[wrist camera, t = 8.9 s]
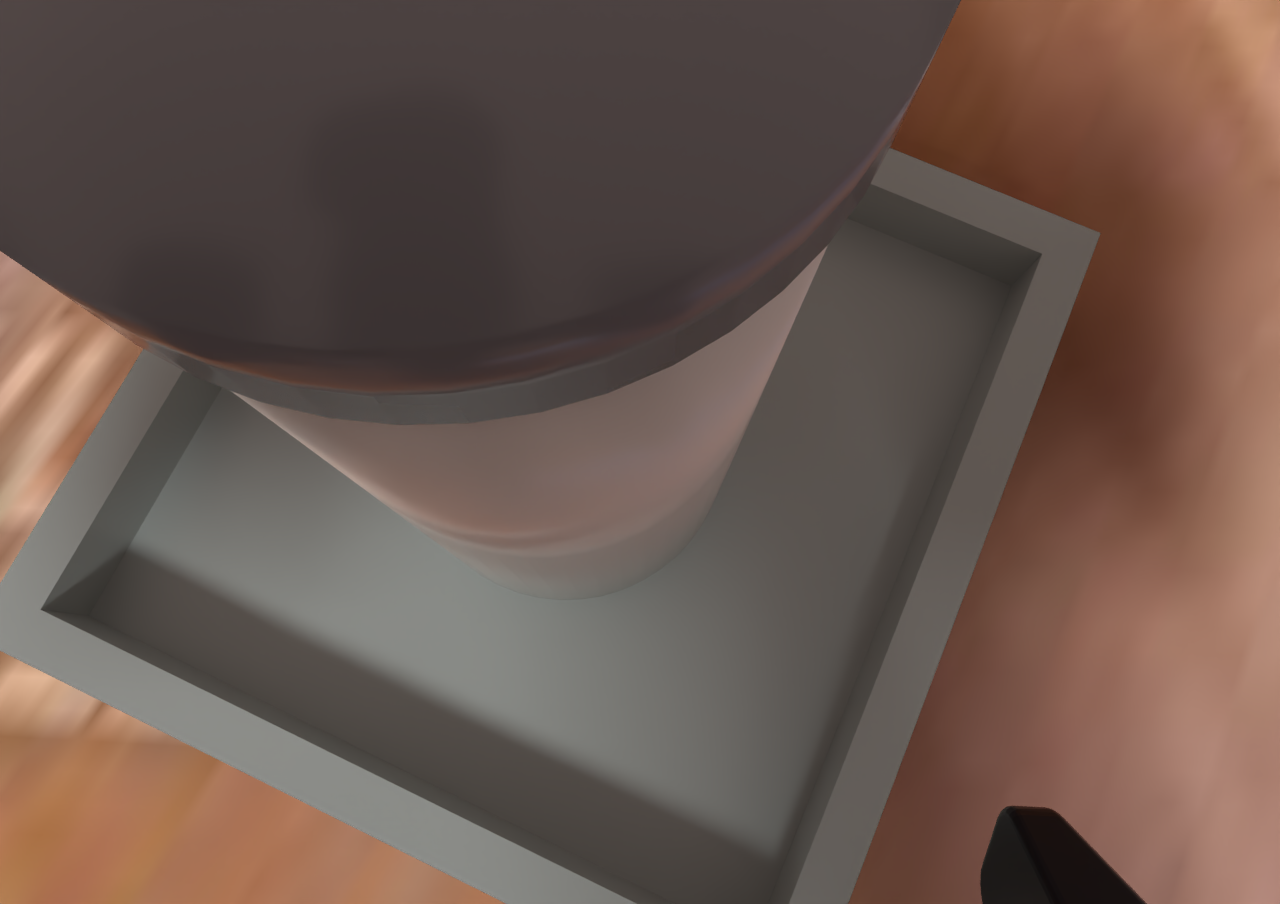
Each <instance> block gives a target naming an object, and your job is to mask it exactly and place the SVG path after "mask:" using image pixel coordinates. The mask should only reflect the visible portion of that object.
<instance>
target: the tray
mask: <svg viewBox="0 0 1280 904" xmlns="http://www.w3.org/2000/svg"><path fill="white" fill-rule="evenodd" d="M1100 234H1101V233H1099V232H1097V231H1094V230H1092V229H1089V228H1087V227H1084V226H1082V225H1080V224H1077V223H1075V222H1072V221H1070V220H1067V219H1065V218H1062V217H1060V216H1057V215H1055V214H1052V213H1050V212H1047V211H1045V210H1042V209H1040V208H1038V207H1035V206H1033V205H1030V204H1028V203H1025V202H1023V201H1020V200H1018V199H1015V198H1013V197H1010V196H1008V195H1005V194H1003V193H1000V192H998V191H995V190H993V189H991V188H988V187H986V186H983V185H981V184H978V183H976V182H973V181H971V180H968V179H966V178H963V177H961V176H958V175H956V174H953V173H951V172H948V171H946V170H944V169H941V168H939V167H936V166H934V165H931V164H929V163H926V162H924V161H921V160H919V159H916V158H914V157H911V156H909V155H906V154H904V153H902V152H899V151H897V150H894V149H892V148H889V150H888V152H887V154H886V156H885V158H884V160H883V162H882V163H881V165H880V167H879V169H878V171H877V173H876V175H875V177H874V178H873V180H872V182H871V184H870V186H869V188H868V190H867V192H866V193H865V195H864V197H863V198H862V199H861V201H860V202H859V203H858V205H857V206H856V207H855V209H854V210H853V212H852V213H851V214H850V216H849V217H848V218H847V220H846V221H845V222H844V224H843V225H842V227H841V228H840V229H839V231H838V232H837V233H836V235H835V236H834V237H833V239H832V240H831V241H830V243H829V244H828V246H827V248H826V251H825V253H824V255H823V257H822V260H821V262H820V264H819V266H818V269H817V271H816V273H815V275H814V278H813V280H812V282H811V284H810V287H809V289H808V291H807V293H806V296H805V298H804V300H803V302H802V305H801V307H800V309H799V311H798V314H797V316H796V318H795V320H794V323H793V325H792V327H791V329H790V332H789V334H788V336H787V338H786V341H785V343H784V345H783V347H782V350H781V352H780V354H779V356H778V359H777V361H776V363H775V365H774V368H773V370H772V372H771V374H770V377H769V379H768V381H767V383H766V386H765V388H764V390H763V392H762V395H761V397H760V399H759V401H758V404H757V406H756V408H755V410H754V413H753V415H752V417H751V419H750V422H749V424H748V426H747V428H746V431H745V433H744V435H743V437H742V440H741V442H740V444H739V446H738V449H737V451H736V453H735V455H734V458H733V460H732V462H731V464H730V467H729V469H728V471H727V473H726V476H725V478H724V480H723V482H722V485H721V487H720V489H719V491H718V494H717V496H716V498H715V500H714V503H713V505H712V507H711V509H710V511H709V513H708V515H707V517H706V518H705V520H704V522H703V524H702V526H701V527H700V529H699V530H698V531H697V533H696V534H695V536H694V537H693V538H692V540H691V541H690V542H689V543H688V545H687V546H686V547H685V548H684V549H683V550H682V551H681V552H680V553H679V554H678V555H677V556H676V557H675V558H674V559H673V560H671V561H670V562H669V563H668V564H667V565H665V566H664V567H663V568H662V569H660V570H659V571H658V572H656V573H654V574H653V575H651V576H649V577H648V578H646V579H645V580H643V581H641V582H639V583H637V584H634V585H632V586H630V587H628V588H626V589H623V590H620V591H617V592H614V593H610V594H607V595H604V596H599V597H593V598H587V599H577V600H555V599H546V598H538V597H534V596H529V595H525V594H521V593H518V592H515V591H512V590H510V589H507V588H505V587H502V586H499V585H498V584H496V583H494V582H492V581H490V580H488V579H487V578H485V577H483V576H481V575H480V574H478V573H477V572H476V571H474V570H473V569H472V568H470V567H469V566H468V565H466V564H465V563H463V562H462V561H461V560H459V559H458V558H457V557H455V556H454V555H453V554H451V553H450V552H449V551H447V550H446V549H444V548H443V547H442V546H440V545H439V544H438V543H436V542H435V541H434V540H432V539H431V538H430V537H428V536H427V535H425V534H424V533H423V532H421V531H420V530H419V529H417V528H416V527H415V526H413V525H412V524H411V523H409V522H408V521H406V520H405V519H404V518H402V517H401V516H400V515H398V514H397V513H396V512H394V511H393V510H392V509H390V508H389V507H388V506H386V505H385V504H383V503H382V502H381V501H379V500H378V499H377V498H375V497H374V496H373V495H371V494H370V493H369V492H367V491H366V490H364V489H363V488H362V487H360V486H359V485H358V484H356V483H355V482H354V481H352V480H351V479H350V478H348V477H347V476H345V475H344V474H343V473H341V472H340V471H339V470H337V469H336V468H335V467H333V466H332V465H331V464H329V463H328V462H327V461H325V460H324V459H322V458H321V457H320V456H318V455H317V454H316V453H314V452H313V451H312V450H310V449H309V448H308V447H306V446H305V445H303V444H302V443H301V442H299V441H298V440H297V439H295V438H294V437H293V436H291V435H290V434H289V433H287V432H286V431H284V430H283V429H282V428H280V427H279V426H278V425H276V424H275V423H274V422H272V421H271V420H270V419H268V418H267V417H266V416H264V415H263V414H261V413H260V412H259V411H257V410H256V409H255V408H253V407H252V406H251V405H249V404H248V403H247V402H245V401H244V400H242V399H241V398H240V397H238V396H237V395H236V394H234V393H233V392H232V391H230V390H227V389H225V388H222V387H220V386H217V385H214V384H212V383H209V382H206V381H204V380H201V379H198V378H196V377H194V376H192V375H191V374H189V373H187V372H185V371H183V370H181V369H180V368H178V367H176V366H174V365H172V364H170V363H169V362H167V361H165V360H163V359H161V358H159V357H158V356H156V355H154V354H152V353H150V352H148V351H147V350H145V349H143V351H142V352H141V354H140V355H139V357H138V359H137V360H136V362H135V364H134V365H133V367H132V369H131V370H130V372H129V373H128V375H127V377H126V378H125V380H124V382H123V383H122V385H121V387H120V388H119V390H118V392H117V393H116V395H115V396H114V398H113V400H112V401H111V403H110V405H109V406H108V408H107V410H106V411H105V413H104V414H103V416H102V418H101V419H100V421H99V423H98V424H97V426H96V428H95V429H94V431H93V432H92V434H91V436H90V437H89V439H88V441H87V442H86V444H85V446H84V447H83V449H82V450H81V452H80V454H79V455H78V457H77V459H76V460H75V462H74V464H73V465H72V467H71V469H70V470H69V472H68V473H67V475H66V477H65V478H64V480H63V482H62V483H61V485H60V487H59V488H58V490H57V491H56V493H55V495H54V496H53V498H52V500H51V501H50V503H49V505H48V506H47V508H46V509H45V511H44V513H43V514H42V516H41V518H40V519H39V521H38V523H37V524H36V526H35V527H34V529H33V531H32V532H31V534H30V536H29V537H28V539H27V541H26V542H25V544H24V546H23V547H22V549H21V550H20V552H19V554H18V555H17V557H16V559H15V560H14V562H13V564H12V565H11V567H10V568H9V570H8V572H7V573H6V575H5V577H4V578H3V580H2V582H1V583H0V651H2V652H4V653H6V654H8V655H10V656H12V657H14V658H16V659H18V660H20V661H22V662H24V663H26V664H28V665H30V666H32V667H34V668H36V669H38V670H40V671H42V672H44V673H46V674H48V675H50V676H52V677H54V678H56V679H58V680H60V681H62V682H64V683H66V684H68V685H70V686H72V687H74V688H76V689H78V690H80V691H82V692H84V693H86V694H88V695H90V696H92V697H94V698H96V699H98V700H100V701H102V702H104V703H106V704H108V705H110V706H112V707H114V708H116V709H118V710H120V711H122V712H124V713H126V714H128V715H130V716H132V717H134V718H136V719H138V720H140V721H142V722H144V723H146V724H148V725H150V726H152V727H154V728H156V729H158V730H160V731H162V732H164V733H166V734H168V735H170V736H172V737H174V738H176V739H178V740H180V741H182V742H184V743H186V744H188V745H190V746H192V747H194V748H196V749H198V750H200V751H202V752H204V753H206V754H208V755H210V756H212V757H214V758H216V759H218V760H220V761H222V762H224V763H226V764H228V765H230V766H232V767H234V768H236V769H238V770H240V771H242V772H244V773H246V774H248V775H250V776H252V777H254V778H256V779H258V780H260V781H262V782H264V783H266V784H268V785H270V786H272V787H274V788H276V789H278V790H280V791H282V792H284V793H286V794H288V795H290V796H292V797H294V798H296V799H298V800H300V801H302V802H304V803H306V804H308V805H310V806H312V807H314V808H316V809H318V810H320V811H322V812H324V813H326V814H328V815H330V816H332V817H334V818H336V819H338V820H340V821H342V822H344V823H346V824H348V825H350V826H352V827H354V828H356V829H358V830H360V831H362V832H364V833H366V834H368V835H370V836H372V837H374V838H376V839H378V840H380V841H382V842H384V843H386V844H388V845H390V846H392V847H394V848H396V849H398V850H400V851H402V852H404V853H406V854H408V855H410V856H412V857H414V858H416V859H418V860H420V861H422V862H424V863H426V864H428V865H430V866H432V867H434V868H436V869H438V870H440V871H442V872H444V873H446V874H448V875H450V876H452V877H454V878H456V879H458V880H460V881H462V882H464V883H466V884H468V885H470V886H472V887H474V888H476V889H478V890H480V891H482V892H484V893H486V894H488V895H490V896H492V897H494V898H496V899H498V900H500V901H502V902H504V903H506V904H848V903H849V900H850V897H851V895H852V892H853V889H854V887H855V884H856V881H857V879H858V876H859V873H860V871H861V868H862V865H863V863H864V860H865V857H866V855H867V852H868V850H869V847H870V844H871V842H872V839H873V836H874V834H875V831H876V828H877V826H878V823H879V820H880V818H881V815H882V812H883V810H884V807H885V804H886V802H887V799H888V796H889V794H890V791H891V788H892V786H893V783H894V781H895V778H896V775H897V773H898V770H899V767H900V765H901V762H902V759H903V757H904V754H905V751H906V749H907V746H908V743H909V741H910V738H911V735H912V733H913V730H914V727H915V725H916V722H917V719H918V717H919V714H920V711H921V709H922V706H923V704H924V701H925V698H926V696H927V693H928V690H929V688H930V685H931V682H932V680H933V677H934V674H935V672H936V669H937V666H938V664H939V661H940V658H941V656H942V653H943V650H944V648H945V645H946V642H947V640H948V637H949V635H950V632H951V629H952V627H953V624H954V621H955V619H956V616H957V613H958V611H959V608H960V605H961V603H962V600H963V597H964V595H965V592H966V589H967V587H968V584H969V581H970V579H971V576H972V573H973V571H974V568H975V565H976V563H977V560H978V558H979V555H980V552H981V550H982V547H983V544H984V542H985V539H986V536H987V534H988V531H989V528H990V526H991V523H992V520H993V518H994V515H995V512H996V510H997V507H998V504H999V502H1000V499H1001V496H1002V494H1003V491H1004V489H1005V486H1006V483H1007V481H1008V478H1009V475H1010V473H1011V470H1012V467H1013V465H1014V462H1015V459H1016V457H1017V454H1018V451H1019V449H1020V446H1021V443H1022V441H1023V438H1024V435H1025V433H1026V430H1027V427H1028V425H1029V422H1030V419H1031V417H1032V414H1033V412H1034V409H1035V406H1036V404H1037V401H1038V398H1039V396H1040V393H1041V390H1042V388H1043V385H1044V382H1045V380H1046V377H1047V374H1048V372H1049V369H1050V366H1051V364H1052V361H1053V358H1054V356H1055V353H1056V350H1057V348H1058V345H1059V343H1060V340H1061V337H1062V335H1063V332H1064V329H1065V327H1066V324H1067V321H1068V319H1069V316H1070V313H1071V311H1072V308H1073V305H1074V303H1075V300H1076V297H1077V295H1078V292H1079V289H1080V287H1081V284H1082V281H1083V279H1084V276H1085V273H1086V271H1087V268H1088V266H1089V263H1090V260H1091V258H1092V255H1093V252H1094V250H1095V247H1096V244H1097V242H1098V239H1099V236H1100Z"/></svg>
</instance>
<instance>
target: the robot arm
mask: <svg viewBox="0 0 1280 904" xmlns="http://www.w3.org/2000/svg"><path fill="white" fill-rule="evenodd" d="M980 885H981V896H982V902H983V904H1147V903H1146V902H1145V901H1144V900H1143V899H1142V898H1141V897H1140V896H1139V895H1138V894H1137V893H1136V892H1135V891H1134V890H1133V889H1132V888H1131V887H1130V886H1129V885H1128V884H1127V883H1126V882H1125V881H1124V880H1123V879H1122V878H1121V877H1120V876H1119V875H1118V873H1117V872H1116V871H1115V870H1114V869H1113V868H1112V867H1111V866H1110V865H1109V864H1108V863H1107V862H1106V861H1105V860H1104V859H1103V858H1102V857H1101V856H1100V855H1099V854H1098V853H1097V852H1096V851H1095V850H1094V849H1093V848H1092V847H1091V846H1090V845H1089V844H1088V843H1087V841H1086V840H1085V839H1084V838H1083V837H1082V836H1081V835H1080V834H1079V833H1078V832H1077V831H1076V830H1075V829H1074V828H1073V827H1072V826H1071V825H1070V824H1069V823H1068V822H1067V821H1066V820H1065V819H1064V818H1063V817H1062V816H1061V815H1060V814H1059V813H1057V812H1056V811H1054V810H1052V809H1050V808H1045V807H1027V806H1008V807H1006V808H1004V809H1003V810H1002V811H1001V812H1000V814H999V816H998V819H997V822H996V825H995V828H994V831H993V834H992V837H991V840H990V843H989V846H988V849H987V852H986V855H985V859H984V862H983V865H982V869H981V882H980Z"/></svg>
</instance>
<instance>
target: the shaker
mask: <svg viewBox="0 0 1280 904" xmlns="http://www.w3.org/2000/svg"><path fill="white" fill-rule="evenodd" d="M960 1H961V0H0V251H1V252H3V253H4V254H6V255H7V256H9V257H10V258H12V259H13V260H15V261H16V262H17V263H19V264H20V265H22V266H23V267H25V268H26V269H28V270H29V271H30V272H32V273H33V274H35V275H36V276H38V277H39V278H41V279H42V280H43V281H45V282H46V283H48V284H49V285H51V286H52V287H54V288H55V289H57V290H58V291H59V292H61V293H62V294H64V295H65V296H67V297H68V298H70V299H71V300H72V301H74V302H75V303H77V304H78V305H80V306H81V307H83V308H84V309H85V310H87V311H88V312H90V313H91V314H93V315H94V316H96V317H97V318H99V319H100V320H101V321H103V322H104V323H106V324H107V325H109V326H110V327H112V328H113V329H114V330H116V331H117V332H119V333H120V334H122V335H123V336H125V337H126V338H127V339H129V340H130V341H132V342H133V343H135V344H136V345H138V346H139V347H141V348H143V349H145V350H147V351H148V352H150V353H152V354H154V355H156V356H158V357H159V358H161V359H163V360H165V361H167V362H169V363H170V364H172V365H174V366H176V367H178V368H180V369H181V370H183V371H185V372H187V373H189V374H191V375H192V376H194V377H196V378H198V379H201V380H204V381H206V382H209V383H212V384H214V385H217V386H220V387H222V388H225V389H227V390H230V391H232V392H233V393H234V394H236V395H237V396H238V397H240V398H241V399H242V400H244V401H245V402H247V403H248V404H249V405H251V406H252V407H253V408H255V409H256V410H257V411H259V412H260V413H261V414H263V415H264V416H266V417H267V418H268V419H270V420H271V421H272V422H274V423H275V424H276V425H278V426H279V427H280V428H282V429H283V430H284V431H286V432H287V433H289V434H290V435H291V436H293V437H294V438H295V439H297V440H298V441H299V442H301V443H302V444H303V445H305V446H306V447H308V448H309V449H310V450H312V451H313V452H314V453H316V454H317V455H318V456H320V457H321V458H322V459H324V460H325V461H327V462H328V463H329V464H331V465H332V466H333V467H335V468H336V469H337V470H339V471H340V472H341V473H343V474H344V475H345V476H347V477H348V478H350V479H351V480H352V481H354V482H355V483H356V484H358V485H359V486H360V487H362V488H363V489H364V490H366V491H367V492H369V493H370V494H371V495H373V496H374V497H375V498H377V499H378V500H379V501H381V502H382V503H383V504H385V505H386V506H388V507H389V508H390V509H392V510H393V511H394V512H396V513H397V514H398V515H400V516H401V517H402V518H404V519H405V520H406V521H408V522H409V523H411V524H412V525H413V526H415V527H416V528H417V529H419V530H420V531H421V532H423V533H424V534H425V535H427V536H428V537H430V538H431V539H432V540H434V541H435V542H436V543H438V544H439V545H440V546H442V547H443V548H444V549H446V550H447V551H449V552H450V553H451V554H453V555H454V556H455V557H457V558H458V559H459V560H461V561H462V562H463V563H465V564H466V565H468V566H469V567H470V568H472V569H473V570H474V571H476V572H477V573H478V574H480V575H481V576H483V577H485V578H487V579H488V580H490V581H492V582H494V583H496V584H498V585H499V586H502V587H505V588H507V589H510V590H512V591H515V592H518V593H521V594H525V595H529V596H534V597H538V598H546V599H555V600H577V599H587V598H593V597H599V596H604V595H607V594H610V593H614V592H617V591H620V590H623V589H626V588H628V587H630V586H632V585H634V584H637V583H639V582H641V581H643V580H645V579H646V578H648V577H649V576H651V575H653V574H654V573H656V572H658V571H659V570H660V569H662V568H663V567H664V566H665V565H667V564H668V563H669V562H670V561H671V560H673V559H674V558H675V557H676V556H677V555H678V554H679V553H680V552H681V551H682V550H683V549H684V548H685V547H686V546H687V545H688V543H689V542H690V541H691V540H692V538H693V537H694V536H695V534H696V533H697V531H698V530H699V529H700V527H701V526H702V524H703V522H704V520H705V518H706V517H707V515H708V513H709V511H710V509H711V507H712V505H713V503H714V500H715V498H716V496H717V494H718V491H719V489H720V487H721V485H722V482H723V480H724V478H725V476H726V473H727V471H728V469H729V467H730V464H731V462H732V460H733V458H734V455H735V453H736V451H737V449H738V446H739V444H740V442H741V440H742V437H743V435H744V433H745V431H746V428H747V426H748V424H749V422H750V419H751V417H752V415H753V413H754V410H755V408H756V406H757V404H758V401H759V399H760V397H761V395H762V392H763V390H764V388H765V386H766V383H767V381H768V379H769V377H770V374H771V372H772V370H773V368H774V365H775V363H776V361H777V359H778V356H779V354H780V352H781V350H782V347H783V345H784V343H785V341H786V338H787V336H788V334H789V332H790V329H791V327H792V325H793V323H794V320H795V318H796V316H797V314H798V311H799V309H800V307H801V305H802V302H803V300H804V298H805V296H806V293H807V291H808V289H809V287H810V284H811V282H812V280H813V278H814V275H815V273H816V271H817V269H818V266H819V264H820V262H821V260H822V257H823V255H824V253H825V251H826V248H827V246H828V244H829V243H830V241H831V240H832V239H833V237H834V236H835V235H836V233H837V232H838V231H839V229H840V228H841V227H842V225H843V224H844V222H845V221H846V220H847V218H848V217H849V216H850V214H851V213H852V212H853V210H854V209H855V207H856V206H857V205H858V203H859V202H860V201H861V199H862V198H863V197H864V195H865V193H866V192H867V190H868V188H869V186H870V184H871V182H872V180H873V178H874V177H875V175H876V173H877V171H878V169H879V167H880V165H881V163H882V162H883V160H884V158H885V156H886V154H887V152H888V150H889V148H890V147H891V145H892V143H893V141H894V139H895V137H896V135H897V132H898V130H899V128H900V126H901V124H902V122H903V120H904V118H905V116H906V114H907V112H908V110H909V107H910V105H911V103H912V101H913V99H914V97H915V95H916V93H917V91H918V89H919V87H920V85H921V82H922V80H923V78H924V76H925V74H926V72H927V70H928V68H929V66H930V64H931V62H932V59H933V57H934V55H935V53H936V51H937V49H938V47H939V45H940V43H941V41H942V39H943V37H944V34H945V32H946V30H947V28H948V26H949V24H950V22H951V20H952V18H953V16H954V14H955V12H956V9H957V7H958V5H959V3H960Z"/></svg>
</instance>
